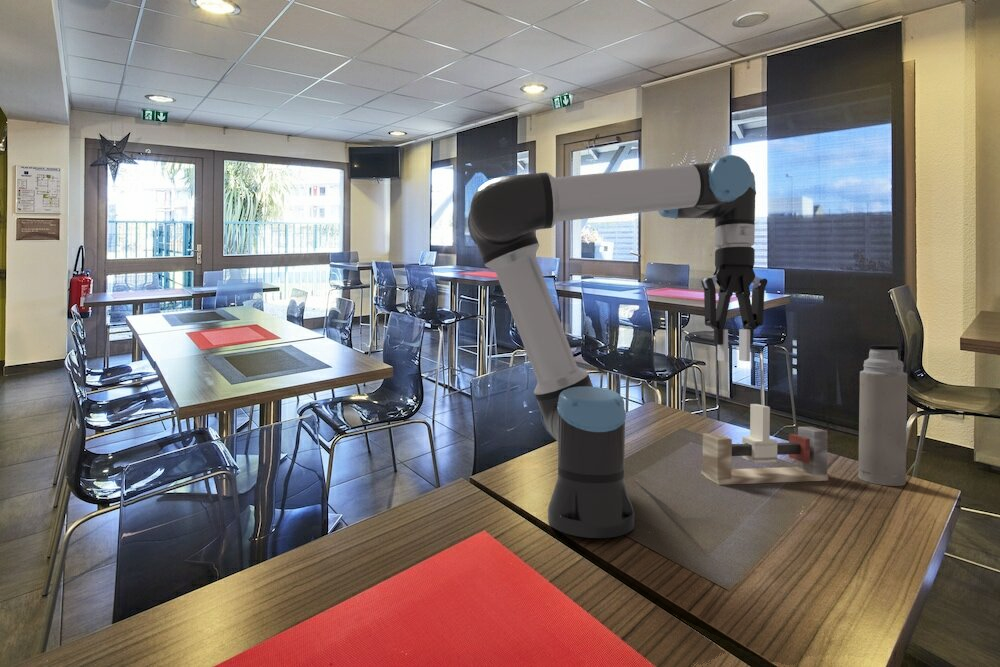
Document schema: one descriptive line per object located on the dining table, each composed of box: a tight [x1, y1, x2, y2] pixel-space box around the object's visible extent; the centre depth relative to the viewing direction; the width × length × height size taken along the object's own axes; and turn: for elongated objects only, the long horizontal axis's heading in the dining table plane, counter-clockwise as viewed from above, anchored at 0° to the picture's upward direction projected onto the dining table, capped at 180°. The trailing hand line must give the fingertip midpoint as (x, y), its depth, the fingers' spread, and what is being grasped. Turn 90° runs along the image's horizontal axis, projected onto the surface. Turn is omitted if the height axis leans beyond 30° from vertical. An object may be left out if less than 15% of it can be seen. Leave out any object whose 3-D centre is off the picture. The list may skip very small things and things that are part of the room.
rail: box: [700, 426, 829, 486], centre depth 112 cm, size 24×7×10 cm, turn 97°
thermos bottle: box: [857, 344, 908, 487], centre depth 110 cm, size 8×8×28 cm
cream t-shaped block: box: [741, 403, 778, 464], centre depth 112 cm, size 5×4×11 cm
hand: (733, 360), depth 111 cm, fingers open, 4 cm apart
